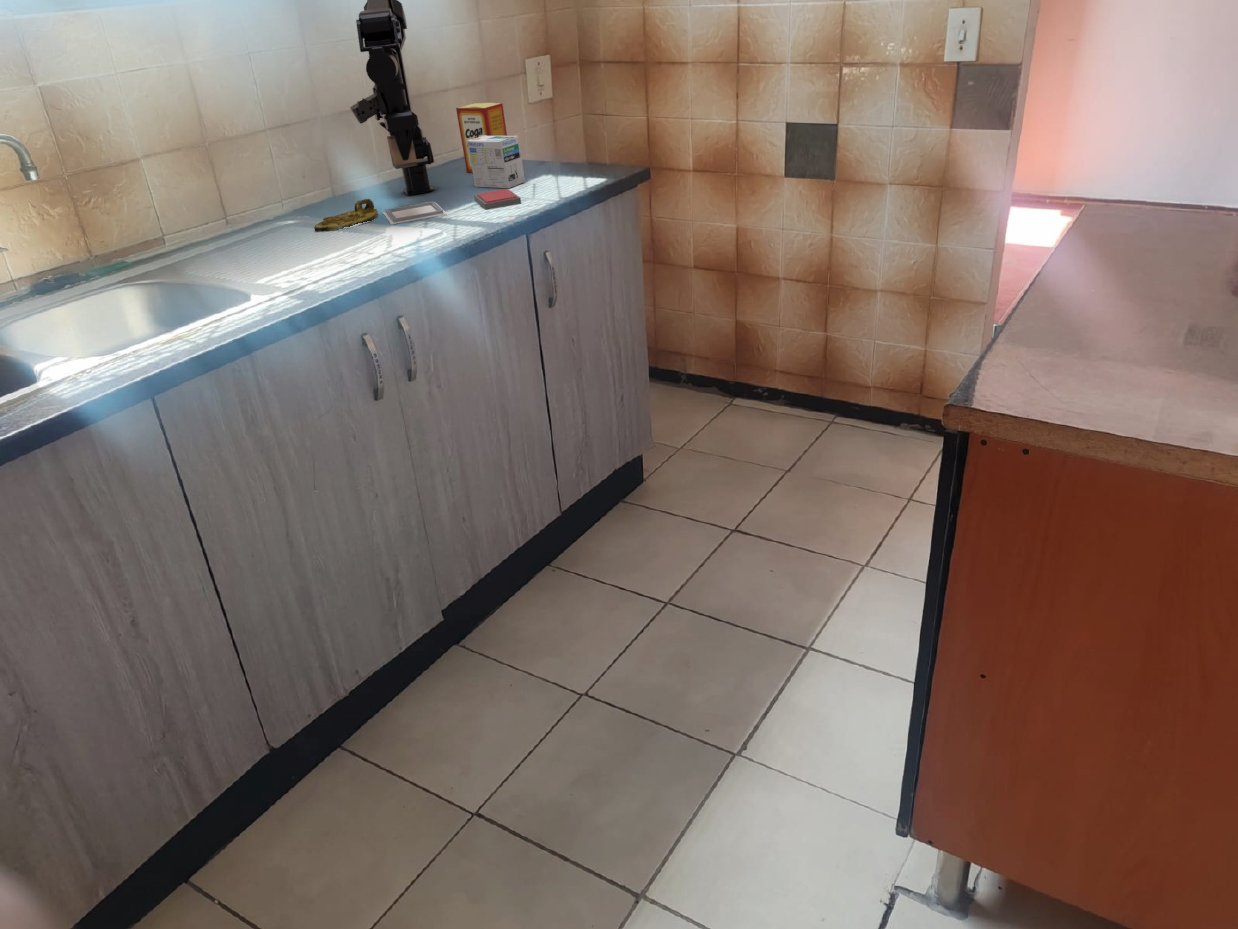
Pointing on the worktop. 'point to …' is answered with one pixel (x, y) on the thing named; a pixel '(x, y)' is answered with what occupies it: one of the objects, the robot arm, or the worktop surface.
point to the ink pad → (497, 199)
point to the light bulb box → (496, 161)
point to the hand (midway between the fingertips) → (403, 158)
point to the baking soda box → (479, 124)
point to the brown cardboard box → (397, 157)
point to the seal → (349, 217)
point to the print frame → (413, 212)
